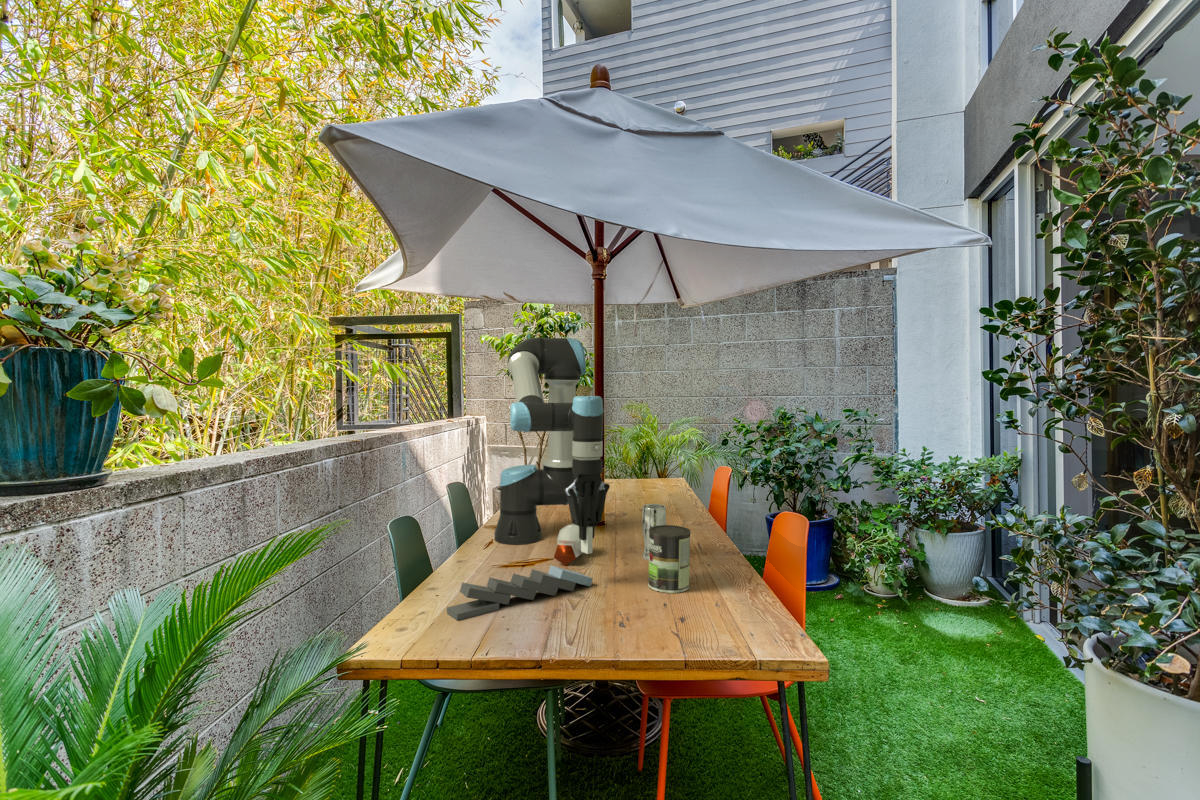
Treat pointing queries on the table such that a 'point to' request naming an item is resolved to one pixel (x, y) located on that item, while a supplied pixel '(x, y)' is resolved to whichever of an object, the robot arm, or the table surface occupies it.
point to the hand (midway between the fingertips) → (586, 552)
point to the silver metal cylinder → (651, 522)
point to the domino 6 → (570, 576)
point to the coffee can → (669, 558)
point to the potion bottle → (568, 544)
